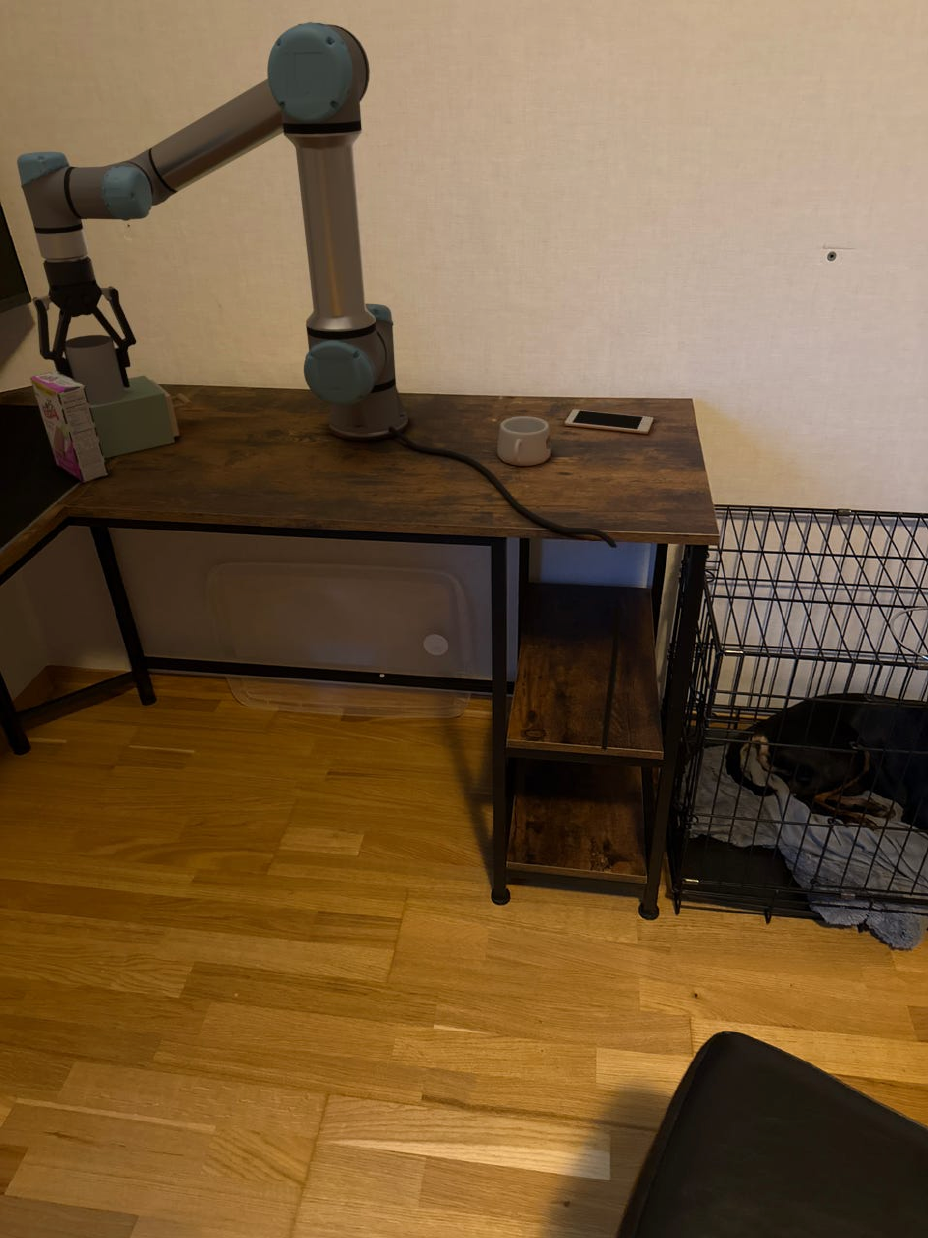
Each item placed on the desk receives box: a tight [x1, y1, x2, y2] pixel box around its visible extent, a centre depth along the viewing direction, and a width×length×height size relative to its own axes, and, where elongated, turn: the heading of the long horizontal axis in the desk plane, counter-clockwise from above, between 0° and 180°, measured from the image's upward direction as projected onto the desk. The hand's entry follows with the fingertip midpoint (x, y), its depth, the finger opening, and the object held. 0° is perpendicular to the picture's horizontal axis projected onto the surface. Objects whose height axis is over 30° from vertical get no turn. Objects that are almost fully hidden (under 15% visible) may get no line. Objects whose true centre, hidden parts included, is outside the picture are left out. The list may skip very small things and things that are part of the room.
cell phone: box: [564, 408, 654, 435], centre depth 168 cm, size 8×16×1 cm, turn 71°
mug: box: [496, 415, 552, 467], centre depth 152 cm, size 12×10×6 cm
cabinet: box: [90, 375, 176, 459], centre depth 162 cm, size 15×13×10 cm
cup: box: [63, 334, 126, 405], centre depth 154 cm, size 8×8×10 cm
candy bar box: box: [29, 370, 109, 484], centre depth 148 cm, size 11×5×16 cm, turn 45°
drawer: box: [149, 379, 194, 438], centre depth 164 cm, size 18×11×8 cm, turn 124°
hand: (100, 390), depth 156 cm, fingers open, 9 cm apart
